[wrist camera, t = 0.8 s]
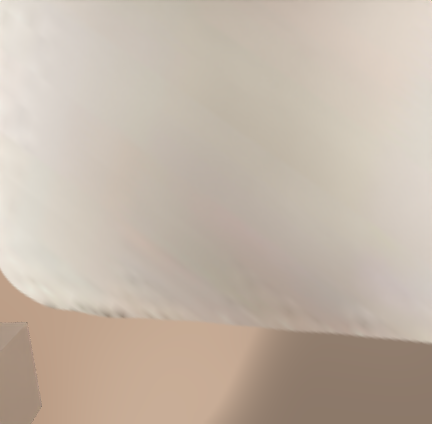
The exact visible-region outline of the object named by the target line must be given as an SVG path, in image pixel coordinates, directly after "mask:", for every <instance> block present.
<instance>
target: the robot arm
mask: <svg viewBox="0 0 432 424" xmlns="http://www.w3.org/2000/svg"><path fill="white" fill-rule="evenodd" d="M41 407H42V404H41V398H40V392H39V386H38V381H37V375H36V369H35V363H34V358H33V352H32V346H31V341H30V335H29V329H28V323H27V322H26V323H25V322H15V323H0V424H31V423H32V422H33V420H34V418H35V417H36V415H37V413H38V412H39V410H40V409H41Z"/></svg>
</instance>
